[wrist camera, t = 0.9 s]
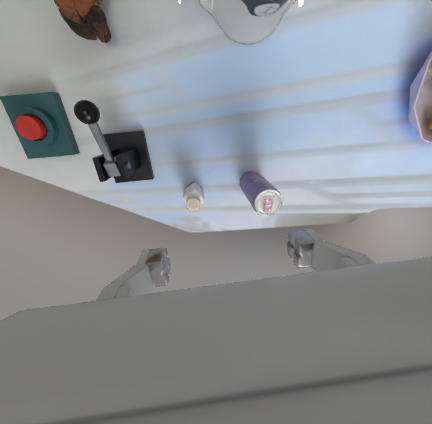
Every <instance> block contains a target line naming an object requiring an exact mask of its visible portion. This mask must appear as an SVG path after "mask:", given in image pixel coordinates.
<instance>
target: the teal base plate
mask: <svg viewBox="0 0 432 424" xmlns="http://www.w3.org/2000/svg"><path fill="white" fill-rule="evenodd" d="M0 99H1V101H2V103H3V105H4V107H5V110H6V112H7V114H8V116H9V118H10V120H11V123H12V125H13V127H14V129H15V131H16V134H17V135H18V138H19V140H20V142H21V144H22V146H23V148H24V151H25V153H26V155H27V157H28V159H32V158H43V157H53V156H64V155H75V154H78V153H80V152H79V149H78V147H77V144H76V141H75V138H74V135H73V132H72V130H71V127H70V124H69V121H68V118H67V115H66V113H65V110H64V107H63V104H62V101H61V98H60V96H59V94H58V93H53V92H50V93H37V94H25V95H12V96H0ZM20 116H35V117H37V118H39V119H40V120H41V121H42V122H43V123H44V125H45V127H46V135H45V137H44V138H42V139H37V140H29V139H26V138H24V137H23V136H22V135H20V133H19V132H18V131H17V129H16V126H15V122H16V119H17V118H18V117H20Z"/></svg>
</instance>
